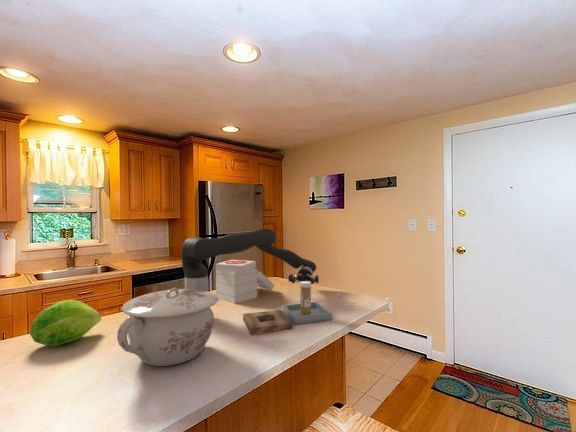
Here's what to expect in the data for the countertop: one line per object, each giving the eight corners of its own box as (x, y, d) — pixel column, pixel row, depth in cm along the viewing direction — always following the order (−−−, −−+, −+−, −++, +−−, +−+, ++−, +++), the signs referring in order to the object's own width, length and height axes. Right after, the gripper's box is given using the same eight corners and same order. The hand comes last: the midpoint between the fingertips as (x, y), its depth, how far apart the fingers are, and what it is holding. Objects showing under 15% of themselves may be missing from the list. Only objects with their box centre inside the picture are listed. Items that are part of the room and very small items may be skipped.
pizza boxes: (277, 292, 163) (277, 259, 163) (233, 305, 140) (233, 267, 140) (253, 286, 176) (253, 256, 175) (209, 297, 153) (209, 262, 153)
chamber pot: (208, 331, 110) (207, 275, 110) (228, 364, 86) (228, 293, 85) (121, 346, 97) (121, 283, 97) (116, 391, 73) (116, 307, 73)
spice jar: (309, 316, 123) (309, 283, 123) (299, 314, 125) (299, 282, 124) (312, 312, 128) (312, 281, 127) (301, 311, 129) (301, 280, 129)
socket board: (250, 335, 106) (250, 328, 106) (243, 319, 122) (243, 313, 122) (293, 329, 111) (293, 323, 111) (280, 315, 127) (280, 309, 127)
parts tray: (294, 325, 116) (294, 317, 116) (282, 312, 131) (282, 305, 131) (331, 320, 121) (331, 313, 121) (315, 308, 136) (315, 301, 136)
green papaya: (110, 336, 105) (110, 298, 105) (37, 359, 89) (37, 313, 89) (92, 326, 114) (92, 291, 114) (23, 345, 98) (23, 304, 98)
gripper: (291, 267, 153) (287, 272, 137) (319, 268, 151) (318, 274, 135) (291, 281, 153) (286, 289, 137) (319, 283, 151) (318, 290, 135)
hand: (302, 281), depth 136 cm, fingers open, 8 cm apart
